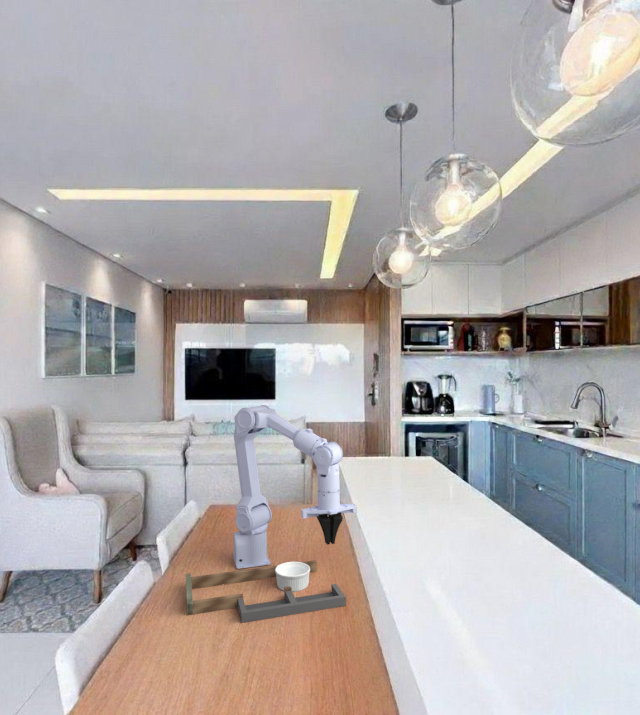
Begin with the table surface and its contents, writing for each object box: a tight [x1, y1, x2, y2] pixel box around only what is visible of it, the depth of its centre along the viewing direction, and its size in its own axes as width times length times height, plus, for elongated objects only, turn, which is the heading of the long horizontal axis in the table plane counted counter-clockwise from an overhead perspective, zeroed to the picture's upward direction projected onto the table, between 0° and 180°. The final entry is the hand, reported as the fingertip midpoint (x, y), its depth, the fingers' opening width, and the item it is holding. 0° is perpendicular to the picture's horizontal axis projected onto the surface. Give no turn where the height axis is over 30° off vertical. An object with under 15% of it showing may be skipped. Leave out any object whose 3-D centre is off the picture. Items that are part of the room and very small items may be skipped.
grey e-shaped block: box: [237, 583, 347, 624], centre depth 115 cm, size 24×7×2 cm, turn 106°
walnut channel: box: [185, 559, 318, 616], centre depth 123 cm, size 34×14×4 cm, turn 106°
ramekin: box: [275, 561, 311, 593], centre depth 126 cm, size 9×9×4 cm
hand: (329, 542), depth 129 cm, fingers closed
